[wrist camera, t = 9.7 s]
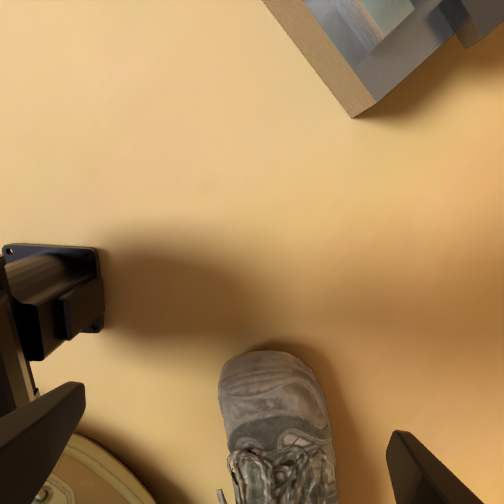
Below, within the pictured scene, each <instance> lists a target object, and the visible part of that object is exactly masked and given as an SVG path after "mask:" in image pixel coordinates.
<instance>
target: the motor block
mask: <svg viewBox="0 0 504 504" xmlns="http://www.w3.org/2000/svg"><path fill="white" fill-rule="evenodd" d="M262 1H263V2H264V4H265V5H266V6H267V8H268V9H269V10H270V11H271V13H272V14H273V15H274V17H275V18H276V19H277V21H278V22H279V23H280V25H281V26H282V27H283V29H284V30H285V31H286V33H287V34H288V35H289V37H290V38H291V39H292V40H293V42H294V43H295V44H296V46H297V47H298V48H299V50H300V51H301V52H302V54H303V55H304V56H305V58H306V59H307V60H308V62H309V63H310V64H311V66H312V67H313V68H314V69H315V71H316V72H317V73H318V75H319V76H320V77H321V79H322V80H323V81H324V83H325V84H326V85H327V87H328V88H329V89H330V91H331V92H332V93H333V95H334V96H335V97H336V99H337V100H338V101H339V102H340V104H341V105H342V106H343V108H344V109H345V110H346V112H347V113H348V114H349V116H350V117H351V118H353V117H355V116H356V115H358V114H360V113H361V112H363V111H365V110H366V109H368V108H370V107H371V106H373V105H374V104H376V103H377V102H379V101H380V100H381V99H382V98H383V97H384V96H385V95H386V94H387V93H389V92H390V91H391V90H392V89H393V88H394V87H395V86H396V85H398V84H399V83H400V82H401V81H402V80H403V79H404V78H405V77H406V76H408V75H409V74H410V73H411V72H412V71H413V70H414V69H415V68H416V67H418V66H419V65H420V64H421V63H422V62H423V61H424V60H425V59H426V58H428V57H429V56H430V55H431V54H432V53H433V52H434V51H435V50H436V49H438V48H439V47H440V46H441V45H442V44H443V43H444V42H445V41H447V40H448V39H449V38H450V37H451V36H452V35H453V34H454V33H455V34H456V36H457V37H458V39H459V40H460V42H461V44H462V45H463V47H464V48H465V49H466V48H468V47H469V46H471V45H473V44H474V43H476V42H478V41H479V40H481V39H483V38H484V37H485V36H486V35H488V34H489V33H490V32H491V31H492V30H493V29H494V28H496V27H497V26H498V25H499V24H500V23H501V22H502V21H504V0H262Z"/></svg>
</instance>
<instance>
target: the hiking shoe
mask: <svg viewBox="0 0 504 504" xmlns="http://www.w3.org/2000/svg"><path fill="white" fill-rule="evenodd" d="M218 400H219V405H220V410H221V413H222V416H223V419H224V425H225V429H226V434H227V438H228V443H227V445H228V449H229V451H230V453H231V454H230V455H229V456H228V458H227V468H228V470H229V472H230V474H231V476H232V481H233V486H234V492H235V499H236V504H341V503H340V502H339V496H338V489H337V481H336V458H335V453H334V448H333V443H332V434H331V425H330V422H329V417H328V411H327V405H326V400H325V395H324V392H323V389H322V387H321V386H320V384H319V382H318V379H317V378H316V376H315V374H314V373H313V371H312V370H311V368H310V367H307V366H305V365H304V363H303V362H302V361H301V360H300V359H299V358H297V357H295V356H292V355H291V354H289V353H288V352H281V351H274V350H263V351H252V352H248V353H244V354H241V355H238V356H235V357H234V358H232V359H231V360H229V361H228V362H226V364H225V365H224V367H223V369H222V371H221V375H220V379H219V385H218ZM232 459H233V467H234V469H235V472H236V473H234V472H232V470H233V469H232V470H231V467H230V462H231V460H232ZM236 475H237V476H236ZM216 491H217V495H218V499H219V502H220V504H227V502H226V500H225V497H224V494H223V491H222V489H218V490H216ZM241 496H242V497H241Z"/></svg>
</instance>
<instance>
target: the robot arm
mask: <svg viewBox="0 0 504 504" xmlns="http://www.w3.org/2000/svg"><path fill="white" fill-rule="evenodd" d="M10 249H12V251H13V253H12V252H11V251H10ZM88 252H89V253H90V254H91V255H92V258H90V257H89V256H88ZM104 310H105V305H104V293H103V280H102V278H101V277H100V268H99V256H98V252H97V251H96V250H95V249H94V248H89V247H71V246H52V245H34V244H15V243H12V244H7V245H5V246H3V248H2V254H0V504H31V503H32V502H33V500H34V499H35V497H36V496H37V494H38V493H39V491H40V490H41V488H42V487H43V485H44V484H45V482H46V480H47V479H48V477H49V476H50V474H51V473H52V471H53V469H54V467H55V466H56V464H57V462H58V460H59V458H60V457H61V455H62V453H63V451H64V449H65V447H66V445H67V444H68V442H69V440H70V438H71V436H72V434H73V432H74V431H75V429H76V427H77V425H78V423H79V421H80V419H81V418H82V416H83V414H84V411H85V407H86V399H85V386H84V384H83V383H79V382H72V381H70V382H67V383H65V384H63V385H61V386H59V387H57V388H55V389H54V390H52V391H50V392H48V393H46V394H44V395H42V396H41V397H40V393H39V389H38V388H36V386H35V383H34V379H33V375H32V371H31V367H30V363H29V362H31V361H43V360H44V359H45V358H46V357H47V356H48V355H50V354H51V353H52V352H53V351H54V350H55V349H56V348H58V347H59V346H60V345H61V344H62V343H63V342H65V341H70V340H72V339H73V338H74V337H75V336H76V335H77V334H78V333H99V332H100V331H101V330H102V329H103V328H104V318H103V311H104ZM94 324H96V325H97V326H98V328H97V327H95V326H94ZM386 460H387V465H388V469H389V474H390V478H391V482H392V487H393V491H394V495H395V500H396V504H484V503H483V502H482V501H481V500H480V499H479V498H478V497H477V496H476V495H475V494H474V493H473V492H472V491H471V490H470V489H469V488H467V487H466V486H465V485H464V484H463V483H462V482H461V481H460V480H459V479H458V478H457V477H456V476H455V475H454V474H453V473H452V472H451V471H450V470H449V469H448V468H447V467H446V466H445V465H444V464H443V463H442V462H441V461H440V460H438V459H437V458H436V457H435V456H434V455H433V454H432V453H431V452H430V451H429V450H428V449H427V448H426V447H425V446H424V445H423V444H422V443H421V442H420V441H419V440H418V439H417V438H416V437H415V436H414V435H413V434H411V433H410V432H408V431H401V430H395V431H393V433H392V436H391V439H390V441H389V444H388V447H387V450H386Z"/></svg>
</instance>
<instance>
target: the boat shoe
mask: <svg viewBox="0 0 504 504" xmlns="http://www.w3.org/2000/svg"><path fill="white" fill-rule="evenodd" d="M31 504H157V503H156V502H155V500H154V499H153V497H152V496H151V495H150V493H149V492H148V491H147V489H146V488H145V487H144V486H143V484H142V483H141V482H140V481H139V480H138V479H137V478H136V477H135V476H134V475H133V473H132V472H131V471H130V470H129V469H127V468H126V467H125V466H124V465H123V464H122V463H121V462H120V461H119V460H118V459H116V458H115V457H113V455H112V454H111V453H109V452H108V451H107V450H105V449H104V448H102V447H101V446H100V445H99V444H97V443H95V442H94V441H92V440H90V439H88V438H86V437H85V436H82V435H80V434H78V433H75V432H73V434H72V436H71V438H70V440H69V442H68V444H67V445H66V447H65V449H64V451H63V453H62V455H61V457H60V458H59V460H58V462H57V464H56V466H55V467H54V469H53V471H52V473H51V474H50V476H49V477H48V479H47V480H46V482H45V484H44V485H43V487H42V488H41V490H40V491H39V493H38V494H37V496H36V497H35V499H34V500H33V502H32V503H31Z"/></svg>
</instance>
